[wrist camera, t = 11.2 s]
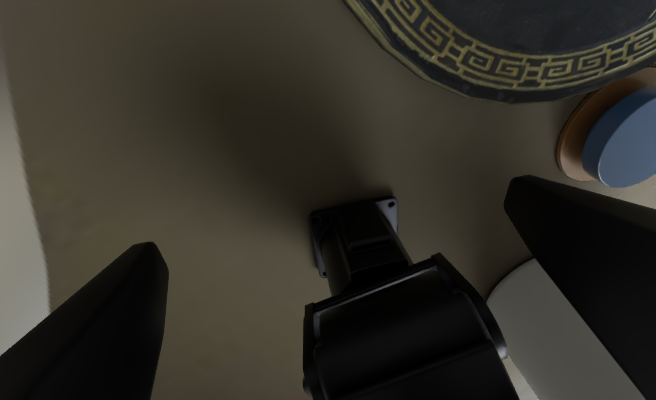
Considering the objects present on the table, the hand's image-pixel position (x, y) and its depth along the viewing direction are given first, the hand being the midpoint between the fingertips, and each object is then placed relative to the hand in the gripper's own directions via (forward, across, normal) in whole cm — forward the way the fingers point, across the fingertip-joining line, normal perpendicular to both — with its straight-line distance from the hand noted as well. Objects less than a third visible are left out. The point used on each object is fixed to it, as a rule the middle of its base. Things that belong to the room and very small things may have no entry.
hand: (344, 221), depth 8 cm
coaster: (+12, -23, +6) cm, 26 cm away
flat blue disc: (+12, -23, +6) cm, 26 cm away
